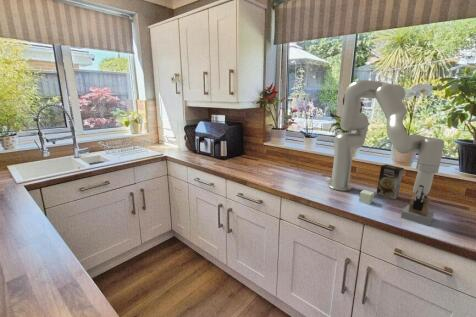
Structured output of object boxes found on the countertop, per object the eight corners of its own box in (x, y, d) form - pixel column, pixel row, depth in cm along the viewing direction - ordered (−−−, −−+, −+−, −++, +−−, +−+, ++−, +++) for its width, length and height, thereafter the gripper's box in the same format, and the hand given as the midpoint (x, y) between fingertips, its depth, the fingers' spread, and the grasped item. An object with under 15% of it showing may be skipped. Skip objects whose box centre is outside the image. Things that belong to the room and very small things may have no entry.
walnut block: (408, 211, 110) (411, 198, 109) (411, 207, 114) (414, 194, 113) (425, 216, 106) (428, 202, 105) (427, 211, 110) (430, 198, 109)
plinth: (400, 217, 111) (402, 211, 110) (406, 210, 118) (407, 204, 117) (428, 225, 104) (430, 219, 103) (433, 218, 111) (434, 211, 110)
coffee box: (375, 194, 137) (380, 165, 133) (380, 191, 141) (385, 163, 137) (394, 199, 130) (399, 169, 126) (398, 196, 134) (404, 167, 130)
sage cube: (358, 201, 127) (360, 192, 126) (362, 198, 131) (363, 189, 130) (369, 204, 124) (370, 195, 123) (372, 201, 127) (374, 192, 126)
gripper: (420, 162, 114) (413, 199, 118) (411, 169, 102) (403, 210, 106) (441, 165, 109) (433, 204, 113) (434, 173, 97) (425, 216, 101)
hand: (419, 206), depth 110 cm, fingers open, 7 cm apart
